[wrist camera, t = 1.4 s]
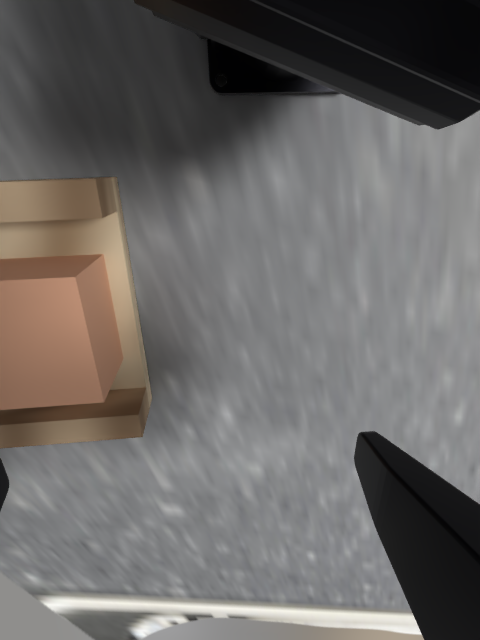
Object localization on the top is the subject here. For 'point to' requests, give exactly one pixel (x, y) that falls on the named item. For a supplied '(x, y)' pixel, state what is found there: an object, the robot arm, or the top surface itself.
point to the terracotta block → (56, 332)
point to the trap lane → (110, 239)
